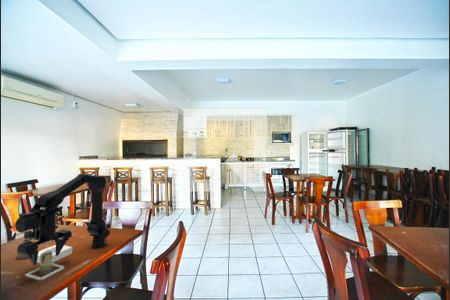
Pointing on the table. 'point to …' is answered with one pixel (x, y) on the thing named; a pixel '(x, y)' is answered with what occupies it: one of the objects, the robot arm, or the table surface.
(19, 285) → the table surface
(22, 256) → the vase
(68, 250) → the white block with recess
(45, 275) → the tray
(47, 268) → the plug
